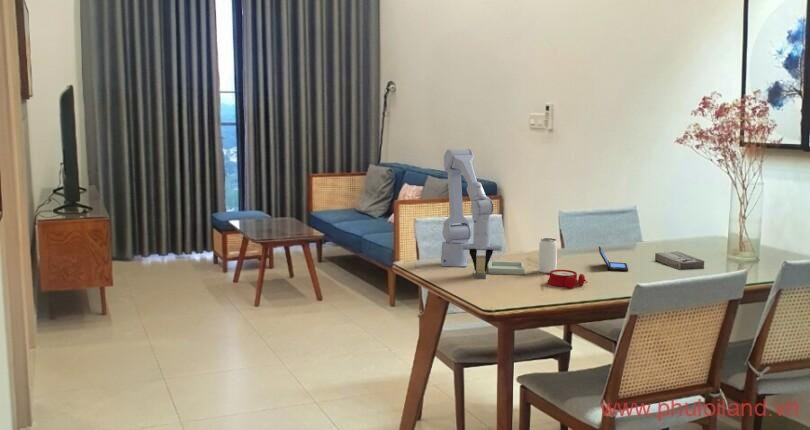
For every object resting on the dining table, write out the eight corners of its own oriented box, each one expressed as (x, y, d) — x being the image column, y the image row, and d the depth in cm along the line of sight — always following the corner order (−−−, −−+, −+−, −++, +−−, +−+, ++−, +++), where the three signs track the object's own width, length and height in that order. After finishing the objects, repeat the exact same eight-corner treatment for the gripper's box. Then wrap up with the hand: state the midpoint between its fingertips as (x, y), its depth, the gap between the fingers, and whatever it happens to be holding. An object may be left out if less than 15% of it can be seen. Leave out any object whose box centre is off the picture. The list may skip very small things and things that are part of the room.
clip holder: (474, 278, 275) (474, 271, 275) (475, 272, 284) (475, 266, 283) (485, 278, 275) (485, 271, 274) (486, 273, 283) (486, 266, 283)
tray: (488, 273, 283) (488, 268, 282) (489, 265, 296) (489, 260, 295) (524, 274, 281) (524, 269, 281) (523, 267, 294) (524, 262, 293)
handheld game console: (628, 272, 287) (629, 252, 286) (598, 271, 289) (599, 251, 288) (626, 265, 299) (627, 246, 298) (597, 264, 301) (598, 245, 300)
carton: (476, 277, 277) (476, 257, 276) (476, 273, 282) (477, 254, 281) (484, 277, 277) (484, 257, 276) (485, 274, 281) (485, 254, 280)
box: (677, 258, 311) (677, 250, 310) (704, 268, 294) (705, 260, 294) (653, 260, 308) (654, 252, 307) (680, 270, 291) (680, 262, 291)
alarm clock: (558, 268, 276) (592, 266, 264) (560, 286, 276) (595, 284, 264) (539, 272, 269) (573, 270, 258) (541, 290, 269) (576, 289, 258)
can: (557, 270, 289) (558, 238, 287) (554, 274, 283) (556, 241, 281) (540, 269, 291) (541, 237, 289) (537, 272, 285) (538, 240, 283)
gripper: (460, 234, 274) (459, 271, 276) (501, 235, 272) (500, 273, 274) (461, 230, 281) (461, 267, 283) (502, 232, 279) (501, 269, 281)
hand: (480, 270), depth 279 cm, fingers closed on carton, 3 cm apart
